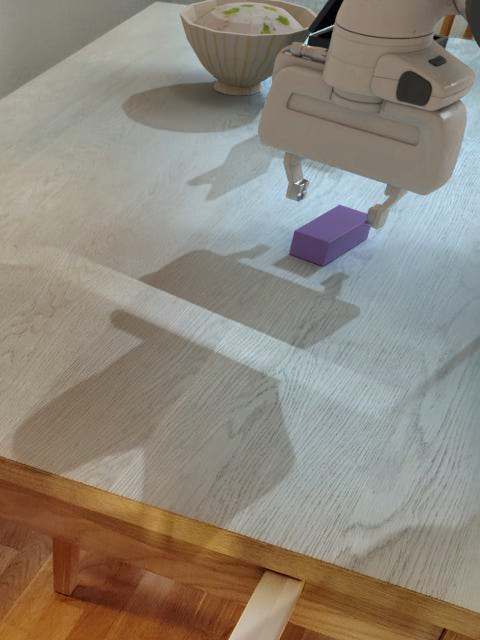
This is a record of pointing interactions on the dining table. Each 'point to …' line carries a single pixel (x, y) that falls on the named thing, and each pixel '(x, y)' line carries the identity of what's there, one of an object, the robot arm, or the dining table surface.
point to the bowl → (243, 38)
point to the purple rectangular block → (330, 235)
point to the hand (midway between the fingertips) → (333, 211)
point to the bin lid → (326, 16)
